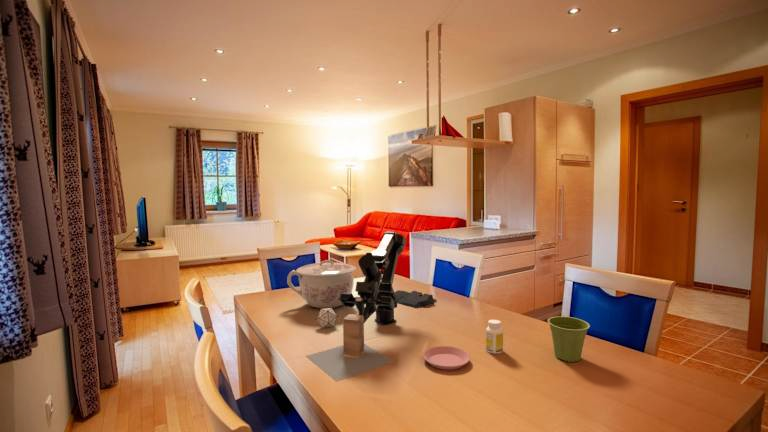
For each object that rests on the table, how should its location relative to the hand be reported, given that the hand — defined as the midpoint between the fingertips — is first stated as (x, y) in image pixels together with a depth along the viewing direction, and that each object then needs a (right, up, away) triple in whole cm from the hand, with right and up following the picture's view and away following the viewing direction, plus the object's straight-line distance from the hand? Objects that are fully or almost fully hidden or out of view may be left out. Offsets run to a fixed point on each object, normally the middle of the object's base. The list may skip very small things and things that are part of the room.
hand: (361, 324), depth 129 cm
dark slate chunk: (+21, -5, +54) cm, 58 cm away
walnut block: (-2, -8, -6) cm, 10 cm away
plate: (+27, -9, -9) cm, 30 cm away
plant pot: (+65, -8, -8) cm, 66 cm away
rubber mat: (-3, -9, -9) cm, 13 cm away
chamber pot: (-19, -5, +50) cm, 54 cm away
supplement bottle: (+44, -8, -2) cm, 45 cm away
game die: (-14, -7, +20) cm, 25 cm away
